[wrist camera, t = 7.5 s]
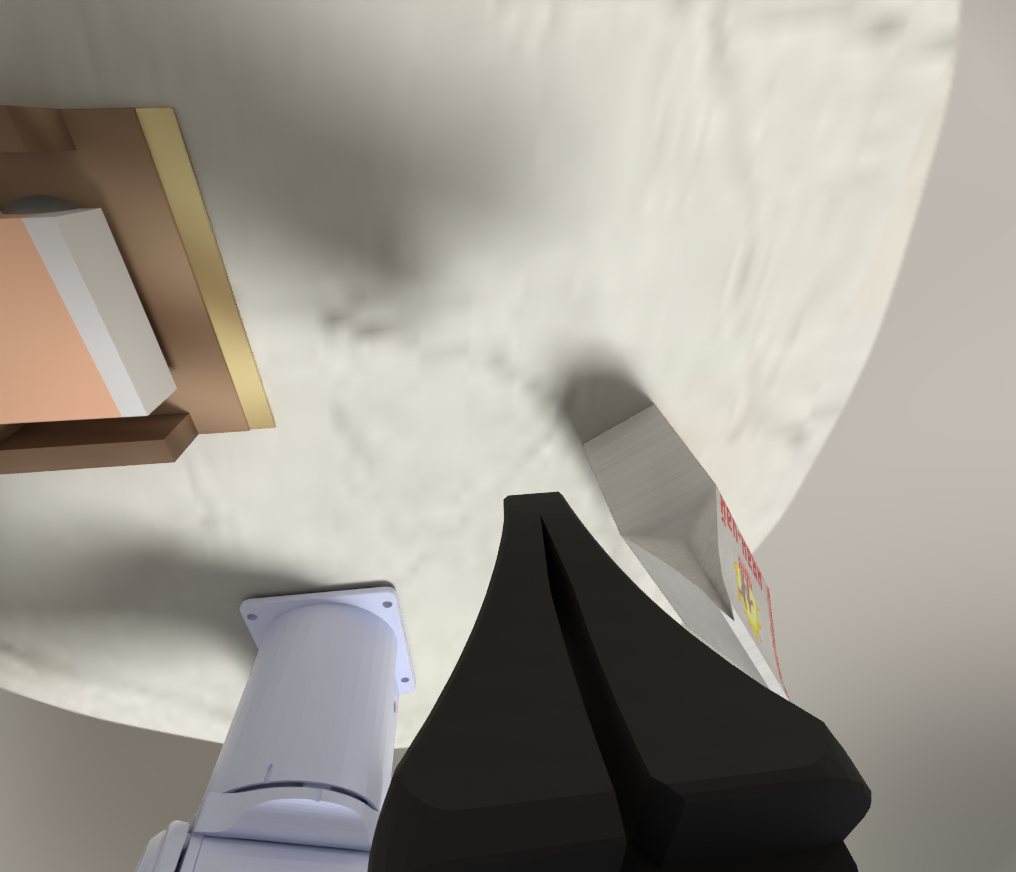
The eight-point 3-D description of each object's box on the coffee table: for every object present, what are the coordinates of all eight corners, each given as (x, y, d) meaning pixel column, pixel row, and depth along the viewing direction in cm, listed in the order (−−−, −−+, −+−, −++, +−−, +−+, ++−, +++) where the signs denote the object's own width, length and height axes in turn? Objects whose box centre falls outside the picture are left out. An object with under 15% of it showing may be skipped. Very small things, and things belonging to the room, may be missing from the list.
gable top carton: (640, 530, 25) (734, 725, 17) (582, 444, 22) (662, 633, 14) (704, 497, 25) (836, 685, 16) (654, 403, 21) (786, 577, 13)
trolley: (193, 386, 19) (152, 426, 16) (13, 396, 18) (-59, 438, 15) (115, 189, 15) (45, 200, 12) (-114, 195, 14) (-234, 206, 12)
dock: (275, 426, 20) (257, 456, 18) (20, 442, 19) (-27, 476, 17) (172, 107, 14) (129, 102, 12) (-200, 114, 13) (-306, 111, 12)
